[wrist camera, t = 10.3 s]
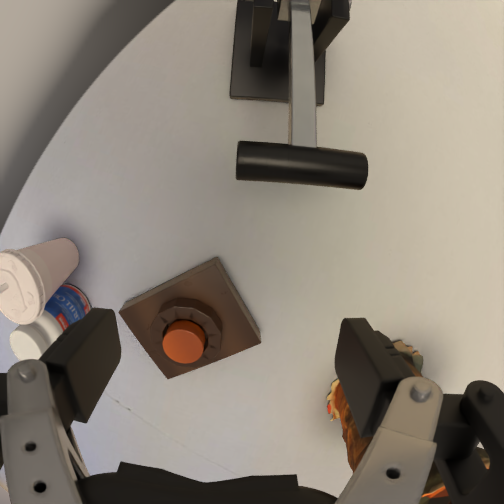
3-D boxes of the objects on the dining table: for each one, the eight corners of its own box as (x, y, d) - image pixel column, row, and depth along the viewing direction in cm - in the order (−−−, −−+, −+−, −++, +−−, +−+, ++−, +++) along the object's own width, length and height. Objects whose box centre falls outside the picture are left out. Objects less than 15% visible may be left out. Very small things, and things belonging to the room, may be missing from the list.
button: (180, 357, 28) (176, 368, 26) (159, 328, 27) (154, 338, 25) (212, 344, 28) (210, 355, 26) (192, 313, 27) (189, 323, 25)
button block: (171, 367, 33) (164, 390, 29) (125, 302, 30) (111, 320, 26) (260, 331, 32) (262, 353, 28) (217, 256, 29) (213, 271, 25)
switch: (352, 194, 14) (372, 183, 12) (235, 185, 14) (235, 171, 12) (336, 2, 15) (346, -22, 12) (250, -9, 14) (252, -35, 12)
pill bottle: (101, 308, 30) (59, 359, 21) (78, 334, 31) (38, 385, 22) (66, 272, 29) (14, 312, 20) (45, 301, 30) (-2, 343, 21)
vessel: (305, 365, 33) (346, 527, 14) (420, 321, 32) (521, 438, 13) (328, 437, 37) (360, 559, 18) (422, 400, 36) (483, 504, 17)
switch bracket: (320, 106, 25) (377, 71, 13) (230, 99, 25) (218, 51, 13) (323, 13, 22) (367, -59, 10) (237, 4, 22) (234, -78, 10)
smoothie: (65, 212, 27) (-30, 252, 14) (101, 262, 29) (22, 331, 16) (33, 247, 28) (-53, 298, 15) (66, 294, 30) (-8, 363, 16)
